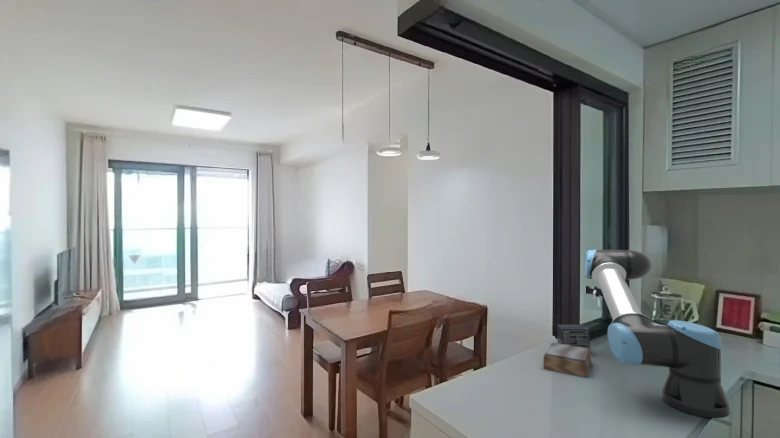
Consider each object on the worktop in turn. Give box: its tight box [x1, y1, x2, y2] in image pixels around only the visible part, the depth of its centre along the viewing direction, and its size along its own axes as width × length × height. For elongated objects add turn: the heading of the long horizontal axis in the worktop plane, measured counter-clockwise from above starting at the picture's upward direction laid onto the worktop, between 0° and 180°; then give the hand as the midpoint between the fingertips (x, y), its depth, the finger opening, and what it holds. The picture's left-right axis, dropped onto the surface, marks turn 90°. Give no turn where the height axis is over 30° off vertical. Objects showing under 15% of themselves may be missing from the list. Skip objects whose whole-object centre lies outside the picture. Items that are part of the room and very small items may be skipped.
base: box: [543, 342, 592, 378], centre depth 135 cm, size 14×14×6 cm
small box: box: [556, 324, 591, 351], centre depth 148 cm, size 11×6×10 cm, turn 84°
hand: (576, 294), depth 158 cm, fingers open, 13 cm apart
